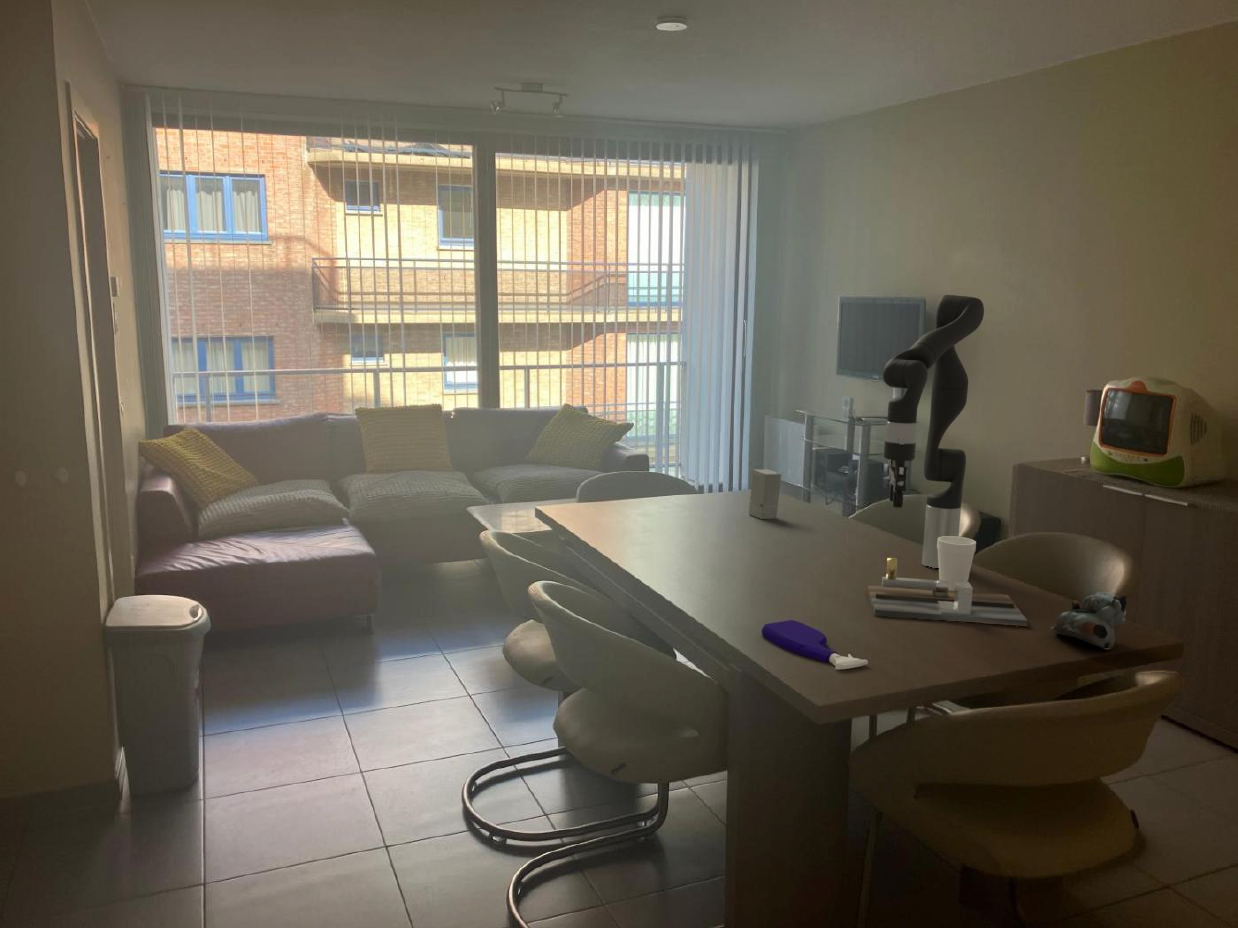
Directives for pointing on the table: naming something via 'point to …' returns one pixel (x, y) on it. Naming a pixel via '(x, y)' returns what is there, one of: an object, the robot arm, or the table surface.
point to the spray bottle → (807, 643)
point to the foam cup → (955, 559)
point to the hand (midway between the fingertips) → (895, 504)
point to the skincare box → (764, 494)
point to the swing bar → (910, 580)
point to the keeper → (958, 600)
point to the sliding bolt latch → (925, 601)
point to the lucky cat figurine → (1094, 619)
